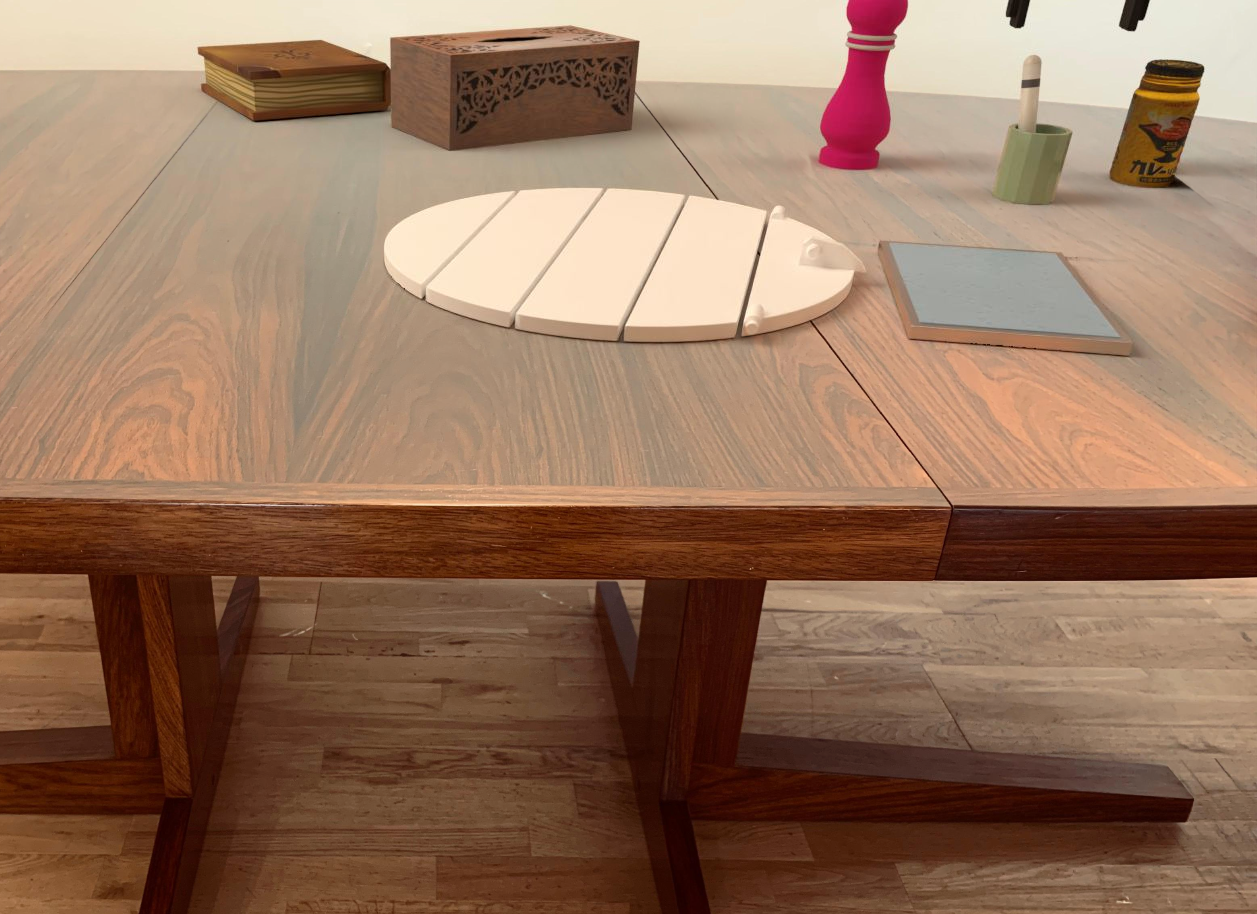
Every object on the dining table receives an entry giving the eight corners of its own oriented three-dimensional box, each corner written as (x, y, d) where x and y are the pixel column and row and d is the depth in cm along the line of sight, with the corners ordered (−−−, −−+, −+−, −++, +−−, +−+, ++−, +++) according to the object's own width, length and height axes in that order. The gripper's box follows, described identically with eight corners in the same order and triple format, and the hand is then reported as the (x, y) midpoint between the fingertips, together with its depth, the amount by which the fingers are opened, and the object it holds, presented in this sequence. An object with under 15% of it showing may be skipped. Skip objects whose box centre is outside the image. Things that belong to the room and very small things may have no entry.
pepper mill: (811, 171, 130) (846, -36, 119) (815, 157, 135) (849, -42, 125) (880, 177, 128) (923, -33, 117) (882, 163, 133) (922, -39, 123)
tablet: (1058, 263, 103) (1062, 251, 102) (1129, 356, 84) (1134, 342, 84) (877, 251, 105) (879, 239, 104) (908, 339, 87) (911, 324, 86)
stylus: (1028, 195, 120) (1040, 54, 115) (1032, 196, 119) (1044, 54, 114) (1010, 196, 121) (1021, 55, 116) (1014, 198, 119) (1025, 56, 114)
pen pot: (1044, 196, 122) (1064, 124, 118) (1057, 211, 117) (1078, 136, 113) (986, 193, 123) (1004, 121, 119) (996, 207, 118) (1016, 133, 114)
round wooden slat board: (863, 221, 113) (870, 184, 111) (862, 371, 81) (872, 322, 79) (457, 186, 122) (457, 151, 121) (314, 307, 91) (312, 262, 89)
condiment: (1158, 197, 122) (1199, 70, 116) (1075, 181, 127) (1110, 59, 121) (1185, 185, 126) (1226, 63, 120) (1103, 171, 132) (1138, 52, 125)
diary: (392, 111, 155) (391, 62, 152) (253, 122, 148) (250, 72, 145) (328, 81, 172) (326, 37, 169) (201, 90, 165) (197, 45, 162)
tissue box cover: (449, 150, 136) (450, 55, 131) (391, 126, 147) (390, 37, 141) (631, 129, 147) (639, 40, 142) (565, 108, 157) (570, 25, 152)
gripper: (1221, -191, 104) (1159, 26, 113) (1010, -191, 107) (966, 21, 116) (1253, -194, 97) (1184, 36, 106) (1028, -194, 100) (979, 30, 109)
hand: (1071, 28), depth 111 cm, fingers open, 9 cm apart
